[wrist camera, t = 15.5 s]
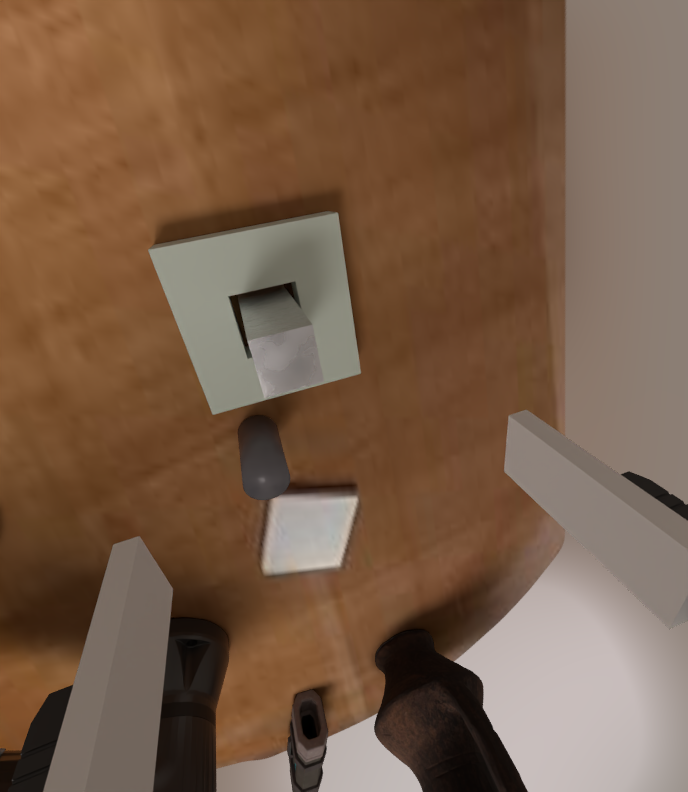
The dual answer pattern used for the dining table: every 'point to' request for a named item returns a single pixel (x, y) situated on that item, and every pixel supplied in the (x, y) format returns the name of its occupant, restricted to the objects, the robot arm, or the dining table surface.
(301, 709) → the tube
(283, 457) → the round peg
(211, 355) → the socket board
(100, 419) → the dining table surface
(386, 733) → the jug
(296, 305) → the square peg
